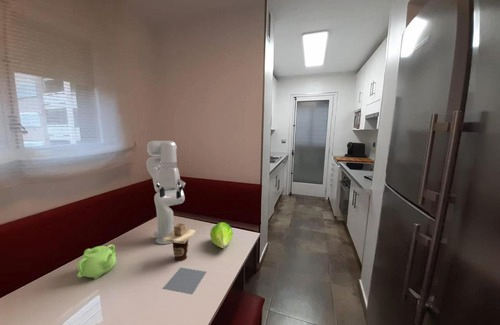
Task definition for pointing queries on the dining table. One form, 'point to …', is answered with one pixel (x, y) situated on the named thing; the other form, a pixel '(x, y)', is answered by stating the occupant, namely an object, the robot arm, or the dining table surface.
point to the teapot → (97, 261)
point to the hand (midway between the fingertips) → (170, 197)
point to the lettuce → (221, 234)
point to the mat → (185, 280)
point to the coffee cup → (180, 251)
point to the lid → (179, 234)
